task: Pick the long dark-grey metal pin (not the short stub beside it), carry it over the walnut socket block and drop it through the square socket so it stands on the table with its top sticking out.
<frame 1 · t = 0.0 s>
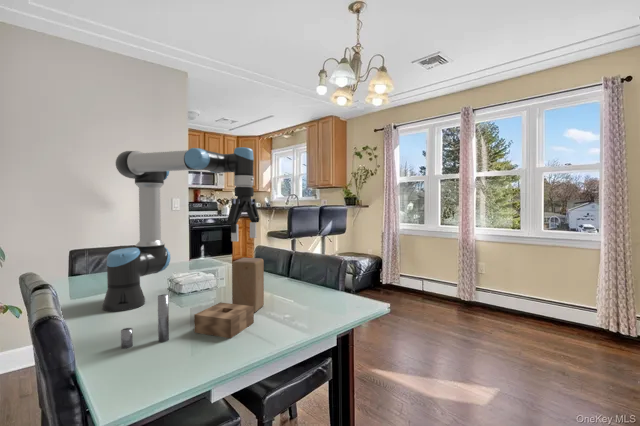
hand: (244, 239, 133), 28 cm above the table, fingers open, 13 cm apart
short pin: (127, 346, 98), on the table
socket block: (225, 327, 113), on the table
long pin: (163, 340, 102), on the table
wooden block: (248, 309, 133), on the table
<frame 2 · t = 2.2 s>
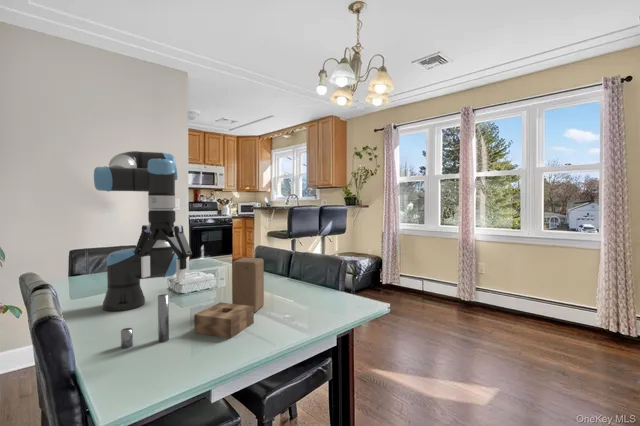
hand: (162, 278, 102), 19 cm above the table, fingers open, 13 cm apart
nothing on the table moved.
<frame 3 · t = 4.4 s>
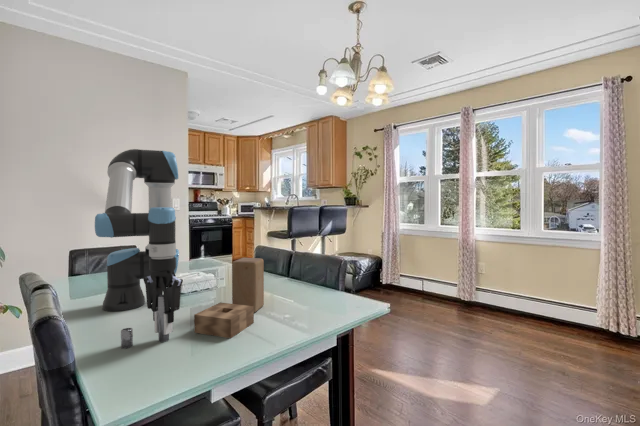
hand: (163, 332, 102), 3 cm above the table, fingers closed on long pin, 3 cm apart
long pin: (163, 340, 102), on the table, touching gripper
everything else where it was.
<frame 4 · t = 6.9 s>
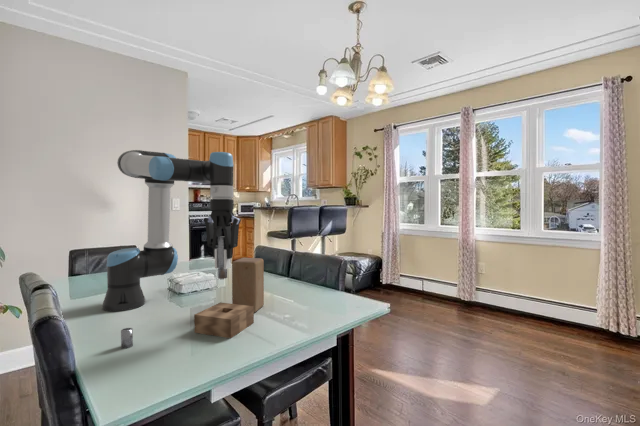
hand: (222, 267, 112), 21 cm above the table, fingers closed on long pin, 3 cm apart
long pin: (222, 277, 112), point 17 cm above the table, touching gripper
everything else where it was.
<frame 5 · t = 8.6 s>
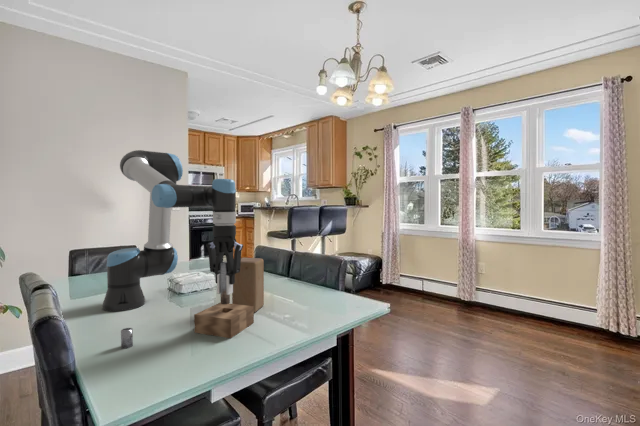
hand: (225, 293, 112), 12 cm above the table, fingers closed on long pin, 3 cm apart
long pin: (225, 303, 112), point 9 cm above the table, touching gripper
everything else where it was.
when the fingers open (7 cm above the table, at t = 9.7 s): long pin drops 3 cm, resting in socket block.
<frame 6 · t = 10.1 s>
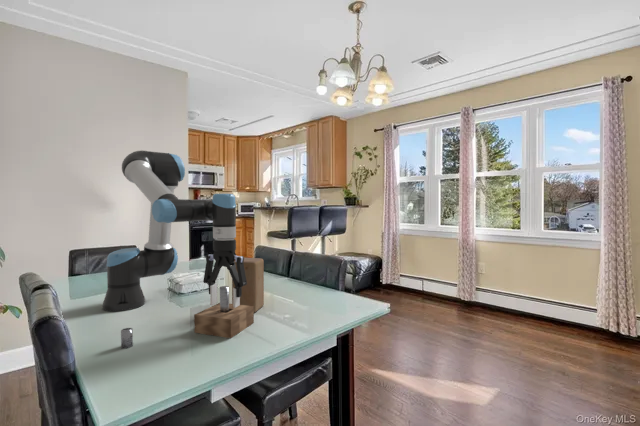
hand: (225, 304, 112), 8 cm above the table, fingers open, 8 cm apart
long pin: (225, 327, 113), resting in socket block
everything else where it was.
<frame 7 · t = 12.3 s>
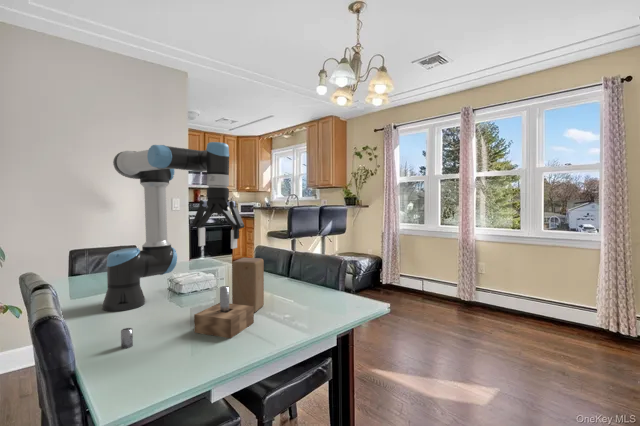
hand: (217, 247, 117), 27 cm above the table, fingers open, 13 cm apart
nothing on the table moved.
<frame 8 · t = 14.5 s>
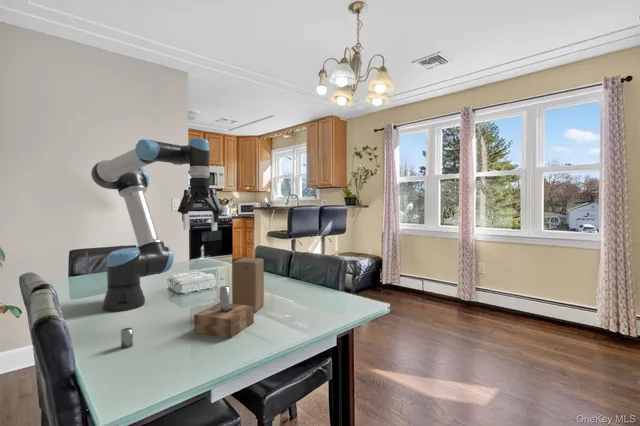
hand: (200, 230, 133), 32 cm above the table, fingers open, 13 cm apart
nothing on the table moved.
at the end: long pin 0.1 cm off-centre on the socket block, point 0.0 cm above the socket block's base; long pin tilted 0°; the gripper is holding nothing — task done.
